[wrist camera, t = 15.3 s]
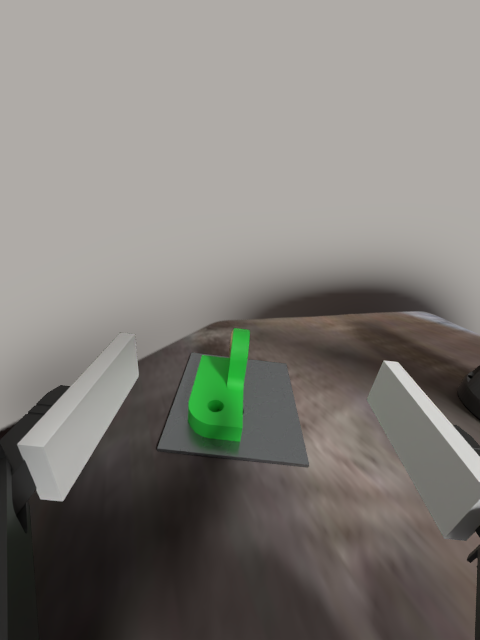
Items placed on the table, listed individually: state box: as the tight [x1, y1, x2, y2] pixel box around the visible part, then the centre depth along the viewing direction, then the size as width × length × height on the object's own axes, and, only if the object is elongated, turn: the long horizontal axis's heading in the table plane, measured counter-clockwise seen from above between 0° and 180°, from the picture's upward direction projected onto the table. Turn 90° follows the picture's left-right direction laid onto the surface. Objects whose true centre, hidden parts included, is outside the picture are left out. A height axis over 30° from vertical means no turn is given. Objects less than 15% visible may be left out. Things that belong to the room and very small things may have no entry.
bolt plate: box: [157, 330, 309, 467], centre depth 32 cm, size 15×17×6 cm
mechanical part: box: [188, 328, 250, 442], centre depth 30 cm, size 12×6×8 cm, turn 178°
